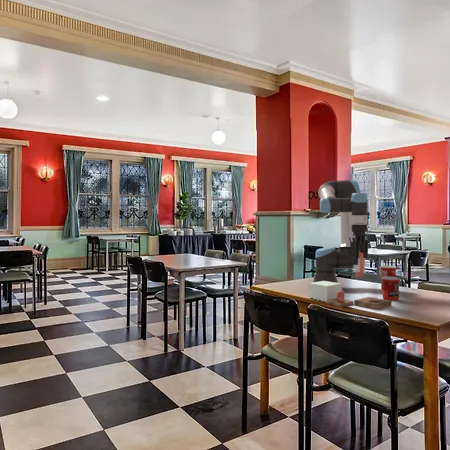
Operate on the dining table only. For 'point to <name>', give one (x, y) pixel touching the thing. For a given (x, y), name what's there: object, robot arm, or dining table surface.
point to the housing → (324, 290)
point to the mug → (387, 272)
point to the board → (334, 301)
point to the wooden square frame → (373, 303)
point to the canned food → (390, 288)
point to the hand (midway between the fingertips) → (359, 270)
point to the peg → (360, 274)
